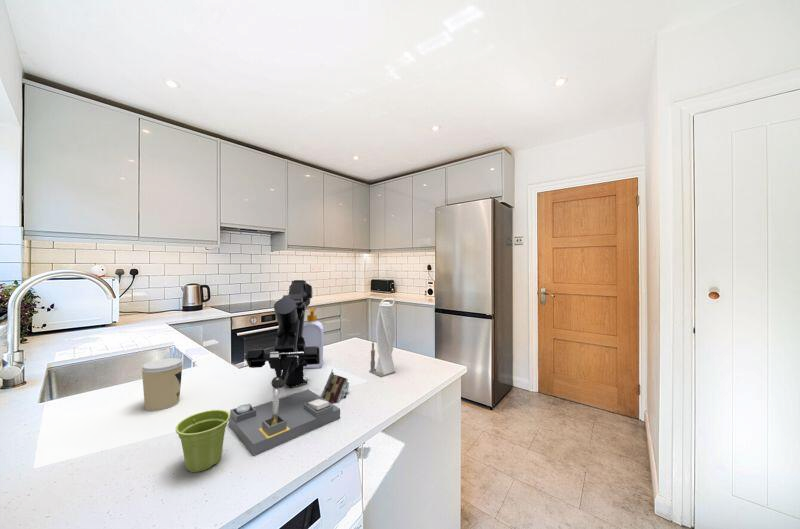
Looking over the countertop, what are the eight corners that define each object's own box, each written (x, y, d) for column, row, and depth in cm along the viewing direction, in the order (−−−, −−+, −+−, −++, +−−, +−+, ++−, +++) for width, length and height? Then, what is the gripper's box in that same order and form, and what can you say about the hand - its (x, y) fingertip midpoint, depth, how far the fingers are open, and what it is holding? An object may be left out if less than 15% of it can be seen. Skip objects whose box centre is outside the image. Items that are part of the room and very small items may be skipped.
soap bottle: (296, 369, 114) (298, 309, 114) (300, 363, 121) (301, 306, 121) (321, 368, 115) (323, 309, 115) (322, 362, 122) (324, 307, 122)
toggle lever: (269, 424, 70) (272, 376, 73) (281, 423, 71) (284, 376, 74) (267, 426, 68) (270, 377, 71) (279, 425, 68) (282, 376, 71)
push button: (234, 411, 75) (234, 407, 75) (247, 407, 77) (247, 403, 77) (238, 416, 73) (238, 411, 73) (251, 411, 75) (251, 407, 75)
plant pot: (168, 485, 55) (168, 438, 55) (182, 454, 64) (182, 414, 64) (226, 471, 59) (226, 427, 59) (232, 444, 68) (232, 406, 68)
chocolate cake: (341, 409, 86) (354, 370, 94) (317, 402, 85) (333, 363, 94) (339, 418, 92) (351, 381, 101) (317, 411, 92) (331, 375, 101)
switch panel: (228, 424, 76) (228, 407, 76) (308, 397, 91) (308, 382, 91) (253, 456, 64) (253, 435, 64) (340, 418, 79) (340, 401, 79)
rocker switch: (308, 406, 79) (307, 402, 79) (318, 402, 81) (318, 398, 82) (317, 410, 76) (317, 405, 76) (328, 405, 78) (328, 401, 78)
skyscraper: (386, 366, 119) (387, 296, 118) (400, 372, 113) (400, 298, 112) (369, 371, 113) (370, 298, 113) (382, 378, 107) (383, 300, 107)
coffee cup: (186, 404, 86) (186, 362, 86) (143, 416, 79) (143, 371, 79) (178, 394, 92) (179, 355, 92) (139, 404, 86) (139, 362, 85)
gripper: (321, 346, 95) (319, 396, 84) (258, 349, 91) (247, 402, 80) (320, 327, 87) (317, 379, 76) (251, 329, 83) (237, 385, 72)
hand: (280, 387), depth 76 cm, fingers closed
